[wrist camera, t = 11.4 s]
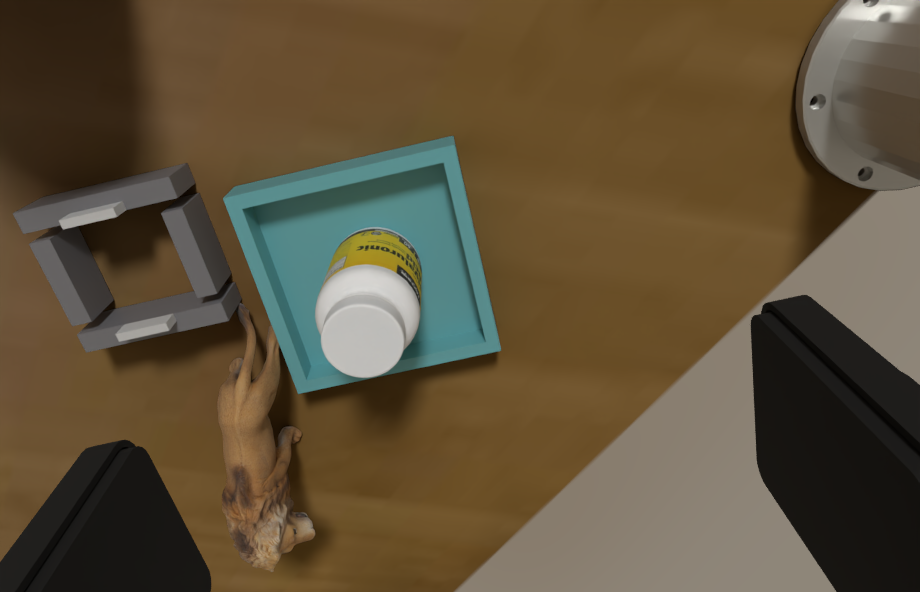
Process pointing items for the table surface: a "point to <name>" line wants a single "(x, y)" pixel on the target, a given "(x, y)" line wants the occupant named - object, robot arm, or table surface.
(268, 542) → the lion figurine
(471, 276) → the tray
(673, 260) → the table surface
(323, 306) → the supplement bottle
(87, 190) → the clip holder
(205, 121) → the table surface
